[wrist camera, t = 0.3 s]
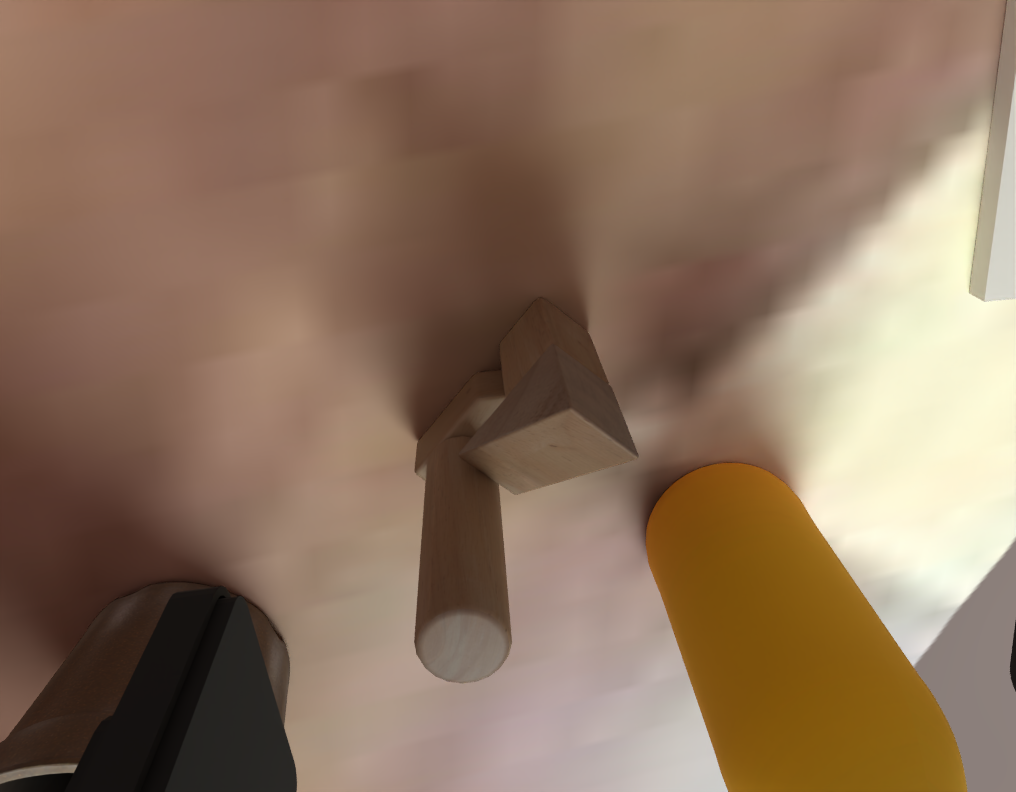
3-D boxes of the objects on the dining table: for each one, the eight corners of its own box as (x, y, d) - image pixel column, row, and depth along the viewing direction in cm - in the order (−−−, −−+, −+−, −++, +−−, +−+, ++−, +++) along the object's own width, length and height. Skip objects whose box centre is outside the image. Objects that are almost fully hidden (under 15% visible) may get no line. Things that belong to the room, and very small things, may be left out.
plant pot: (346, 570, 53) (302, 792, 38) (312, 777, 59) (262, 1037, 44) (55, 528, 50) (-112, 745, 36) (51, 746, 57) (-93, 1009, 42)
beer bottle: (611, 554, 53) (764, 1107, 26) (701, 429, 50) (978, 911, 23) (737, 615, 55) (996, 1183, 29) (831, 499, 52) (1217, 1012, 26)
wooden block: (592, 333, 47) (663, 507, 31) (467, 477, 50) (471, 706, 34) (538, 292, 46) (581, 449, 30) (413, 442, 49) (391, 659, 33)
